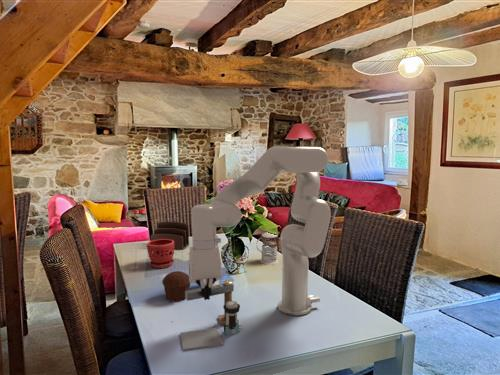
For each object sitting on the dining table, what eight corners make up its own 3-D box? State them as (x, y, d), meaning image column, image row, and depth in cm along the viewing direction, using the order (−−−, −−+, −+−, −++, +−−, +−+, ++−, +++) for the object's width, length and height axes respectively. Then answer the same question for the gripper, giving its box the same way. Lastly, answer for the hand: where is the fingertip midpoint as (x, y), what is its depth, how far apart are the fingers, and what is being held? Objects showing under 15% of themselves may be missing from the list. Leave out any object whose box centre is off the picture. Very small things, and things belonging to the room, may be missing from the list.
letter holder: (157, 243, 230) (157, 220, 228) (189, 245, 227) (188, 222, 225) (150, 248, 221) (149, 224, 219) (183, 250, 217) (182, 225, 215)
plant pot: (172, 260, 199) (172, 237, 198) (176, 268, 187) (175, 244, 185) (146, 262, 195) (146, 239, 194) (148, 270, 183) (147, 246, 181)
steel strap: (234, 291, 131) (234, 282, 131) (187, 301, 123) (187, 291, 123) (230, 288, 134) (230, 279, 134) (184, 297, 126) (184, 288, 126)
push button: (239, 326, 129) (239, 297, 128) (246, 333, 125) (246, 304, 123) (221, 330, 127) (220, 301, 125) (227, 337, 122) (227, 308, 120)
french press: (279, 264, 193) (280, 215, 190) (256, 264, 193) (256, 215, 190) (278, 258, 203) (279, 211, 199) (256, 258, 203) (256, 211, 200)
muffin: (156, 300, 150) (155, 275, 149) (172, 289, 160) (171, 266, 159) (182, 305, 146) (182, 279, 144) (197, 294, 156) (197, 270, 155)
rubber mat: (216, 329, 127) (216, 327, 127) (223, 345, 118) (223, 343, 118) (180, 334, 124) (180, 332, 124) (183, 350, 114) (183, 348, 114)
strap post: (234, 315, 137) (234, 287, 136) (238, 323, 131) (238, 294, 130) (217, 317, 135) (217, 289, 134) (221, 325, 130) (221, 296, 128)
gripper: (224, 238, 128) (226, 290, 131) (179, 242, 124) (181, 296, 126) (230, 244, 121) (231, 299, 124) (182, 249, 117) (184, 306, 119)
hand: (206, 298), depth 125 cm, fingers closed
